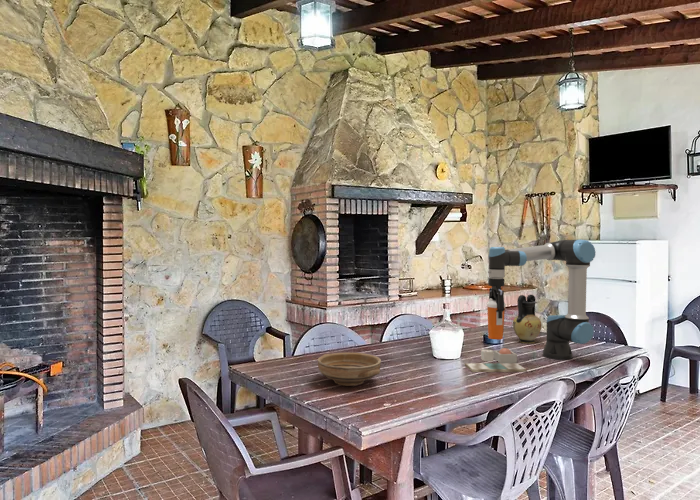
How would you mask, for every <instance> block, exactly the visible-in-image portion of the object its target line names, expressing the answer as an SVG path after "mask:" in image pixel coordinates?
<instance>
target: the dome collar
mask: <svg viewBox="0 0 700 500" xmlns="http://www.w3.org/2000/svg"><path fill="white" fill-rule="evenodd" d="M499 351H500V350H493V360H494V361H496V362H497V361H498V362H497V363H517V364H518V354H517V353H515V352H513V351H512V350H510V351H511V354H500V353H499Z"/></svg>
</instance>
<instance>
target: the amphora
mask: <svg viewBox="0 0 700 500" xmlns="http://www.w3.org/2000/svg"><path fill="white" fill-rule="evenodd" d="M537 302H538V301H536V296H535V295H534V294H528V295H527V296H526V295H523V294H520V295H519V296H518V297H517V310H518V311H517V312H518V313H517V314H518V315H516V316H515V317H514V319H513V320H512V328H513V332H514V333H515V335H516V337H518V339H519V343H521V344H535V343H536V341H535V340H536V339H537V337H539V335H540V333H541V330H542V322H541V319H540V318H539V317H538V316H537V315H536V304H537Z"/></svg>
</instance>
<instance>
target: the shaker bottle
mask: <svg viewBox="0 0 700 500" xmlns="http://www.w3.org/2000/svg"><path fill="white" fill-rule="evenodd" d="M486 307H487V308H486V309H487V338H488V339H490V340H503V339H504V329H505V328H504V327H505V325H504V324H505V314H506V313H505V312H506V311H505V310H506V303H505V302H504V309H505V310H504V311H503V314H502V325H496V315H497V312H496V310H497V303H496V300H495V298H494V299H493V298H490V299H489V298H488V301H487V303H486Z"/></svg>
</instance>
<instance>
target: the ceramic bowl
mask: <svg viewBox="0 0 700 500" xmlns="http://www.w3.org/2000/svg"><path fill="white" fill-rule="evenodd" d="M316 360H317V366H318V370H319V372H320V373H321V375H323V376H324V377H326V378H327V379H329V380H333V382H334V383H335V384H337V385H339V386H345V387H347V386H349V387H350V386H351V387H352V386H353V387H355V386H359V385H362V384H364V381H368V380H370V379H372V378H374V377H375V376H377V375H379V374H380V373H381V370H380V368H381V366H382V365H381V362H382V359H381V358H380V357H379V356H376V355H373V354H369V353H364V352H334V353H333V352H332V353H324V354H322V355H321V356H319V357H318V358H317V359H316Z"/></svg>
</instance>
